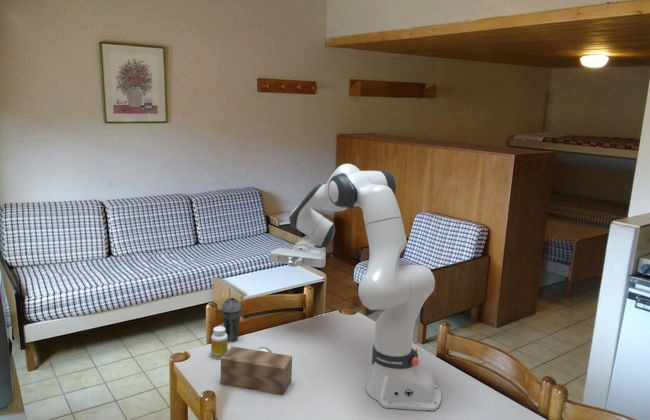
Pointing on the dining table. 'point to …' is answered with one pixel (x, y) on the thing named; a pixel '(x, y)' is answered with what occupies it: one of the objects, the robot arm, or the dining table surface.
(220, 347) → the supplement bottle
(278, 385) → the block
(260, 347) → the knob
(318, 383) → the dining table surface
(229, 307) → the beverage cup
